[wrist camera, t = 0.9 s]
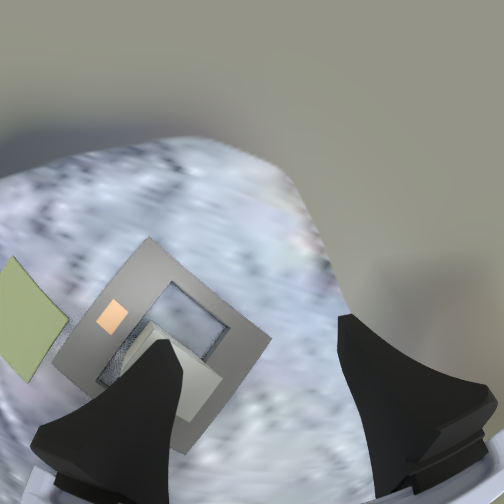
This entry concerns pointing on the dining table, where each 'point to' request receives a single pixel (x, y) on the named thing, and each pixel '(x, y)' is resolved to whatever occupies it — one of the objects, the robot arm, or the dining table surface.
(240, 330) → the grey square frame
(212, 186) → the dining table surface
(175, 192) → the dining table surface
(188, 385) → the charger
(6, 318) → the rubber mat
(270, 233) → the dining table surface
